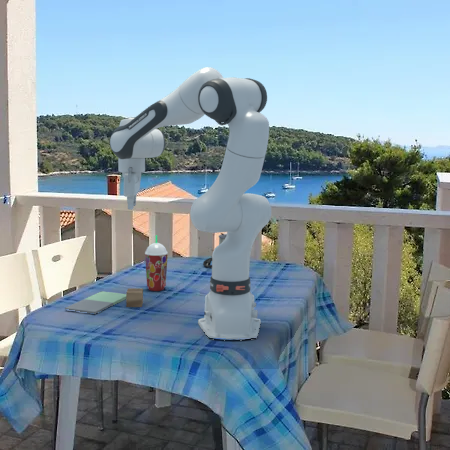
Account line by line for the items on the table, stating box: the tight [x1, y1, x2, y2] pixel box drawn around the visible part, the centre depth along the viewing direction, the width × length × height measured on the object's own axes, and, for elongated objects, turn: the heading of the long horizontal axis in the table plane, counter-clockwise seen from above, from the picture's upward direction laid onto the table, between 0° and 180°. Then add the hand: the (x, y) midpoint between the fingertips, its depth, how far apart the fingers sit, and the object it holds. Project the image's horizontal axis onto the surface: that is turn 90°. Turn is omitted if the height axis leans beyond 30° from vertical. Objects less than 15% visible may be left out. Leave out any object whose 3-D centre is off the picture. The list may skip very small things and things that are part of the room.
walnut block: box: [125, 287, 144, 308], centre depth 190 cm, size 5×5×5 cm
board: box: [64, 291, 126, 315], centre depth 190 cm, size 22×11×1 cm, turn 161°
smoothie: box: [144, 234, 169, 292], centre depth 209 cm, size 8×8×20 cm
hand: (131, 207), depth 195 cm, fingers open, 8 cm apart
